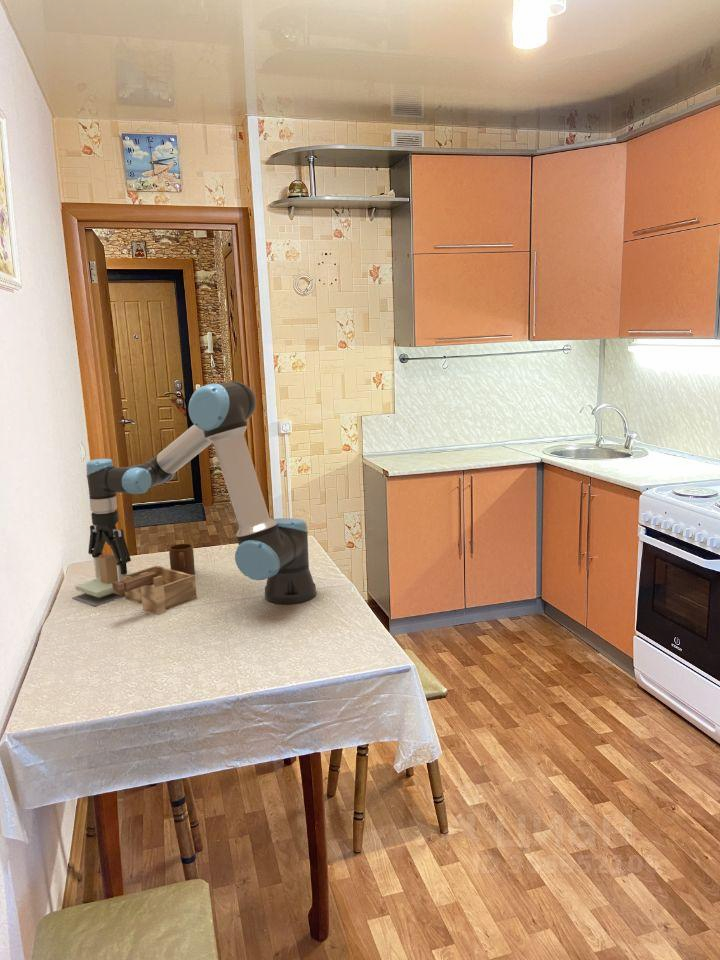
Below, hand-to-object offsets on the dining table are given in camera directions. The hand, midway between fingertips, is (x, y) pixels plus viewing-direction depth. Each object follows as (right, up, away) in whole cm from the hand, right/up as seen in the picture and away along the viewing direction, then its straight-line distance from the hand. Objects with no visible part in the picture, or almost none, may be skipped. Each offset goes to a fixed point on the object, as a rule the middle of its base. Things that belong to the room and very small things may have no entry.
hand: (111, 580), depth 218 cm
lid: (0, -1, 0) cm, 1 cm away
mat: (0, -4, +1) cm, 4 cm away
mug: (+18, -1, +14) cm, 23 cm away
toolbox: (+16, -5, -7) cm, 18 cm away
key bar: (+14, +1, -21) cm, 25 cm away
